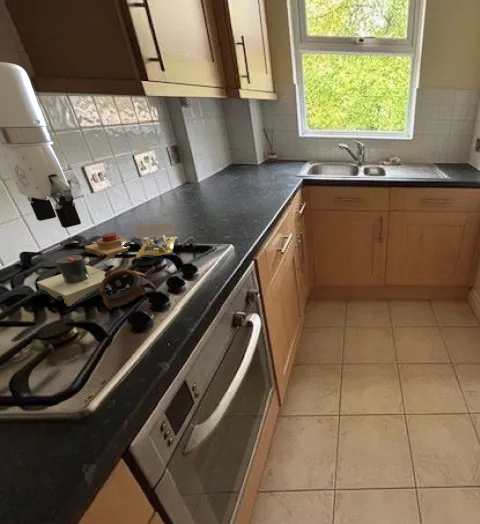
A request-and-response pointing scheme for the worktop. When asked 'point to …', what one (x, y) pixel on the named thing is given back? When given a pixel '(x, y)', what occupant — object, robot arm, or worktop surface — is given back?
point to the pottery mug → (123, 286)
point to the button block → (108, 247)
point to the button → (109, 237)
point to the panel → (72, 286)
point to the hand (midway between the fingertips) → (59, 222)
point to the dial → (73, 269)
